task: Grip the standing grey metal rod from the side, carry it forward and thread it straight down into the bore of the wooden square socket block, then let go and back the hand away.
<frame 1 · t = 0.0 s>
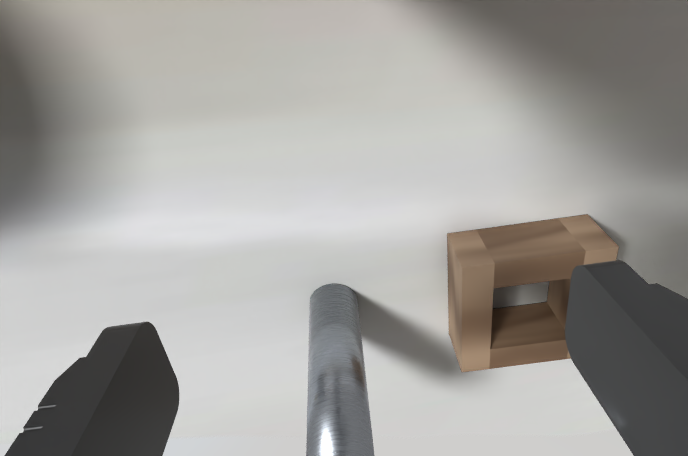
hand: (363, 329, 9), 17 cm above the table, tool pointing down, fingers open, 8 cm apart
wooden square socket block: (512, 278, 31), on the table
rod: (333, 302, 31), on the table
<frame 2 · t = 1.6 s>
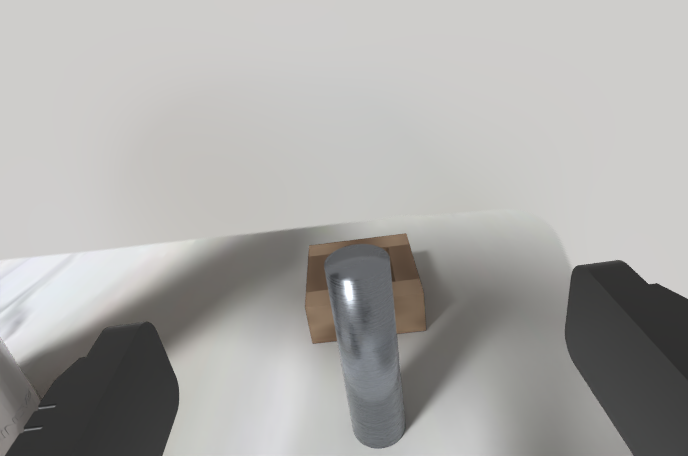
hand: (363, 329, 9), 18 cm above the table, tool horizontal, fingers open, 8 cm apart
wooden square socket block: (365, 301, 39), on the table
rod: (378, 424, 28), on the table
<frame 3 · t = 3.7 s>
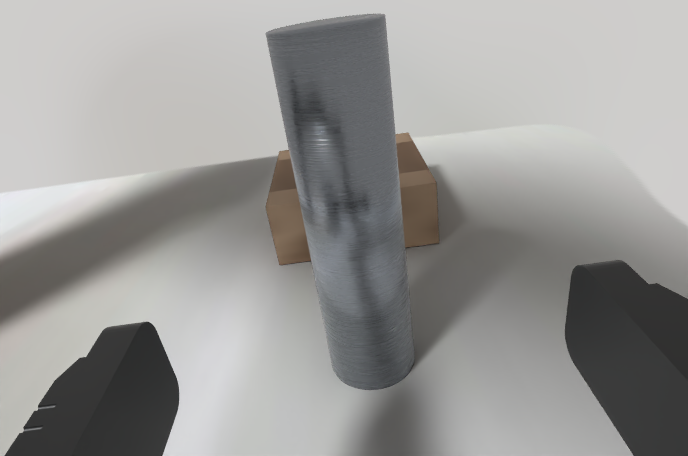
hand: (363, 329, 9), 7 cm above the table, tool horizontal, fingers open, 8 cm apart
wooden square socket block: (354, 217, 29), on the table
rod: (372, 357, 18), on the table
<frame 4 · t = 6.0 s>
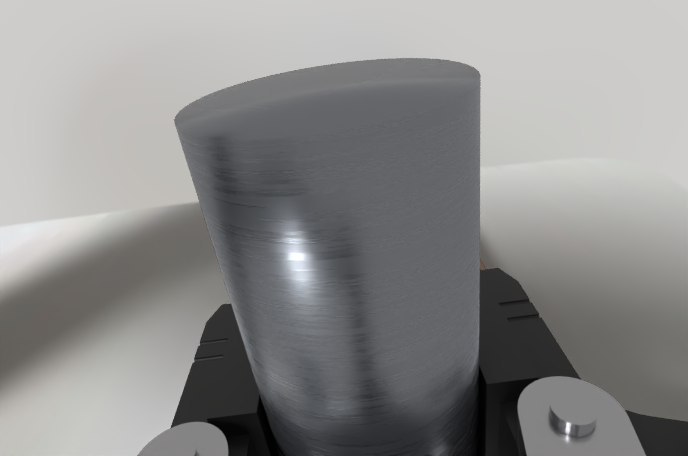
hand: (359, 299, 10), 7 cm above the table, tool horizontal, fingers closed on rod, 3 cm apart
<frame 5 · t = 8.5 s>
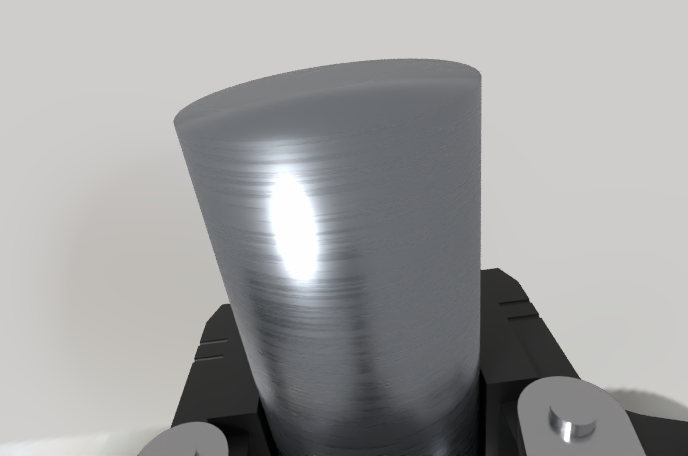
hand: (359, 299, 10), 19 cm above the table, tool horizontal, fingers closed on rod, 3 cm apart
when the fingers open (9 cm above the table, at t = 11.3 s): rod drops 2 cm, resting in wooden square socket block.
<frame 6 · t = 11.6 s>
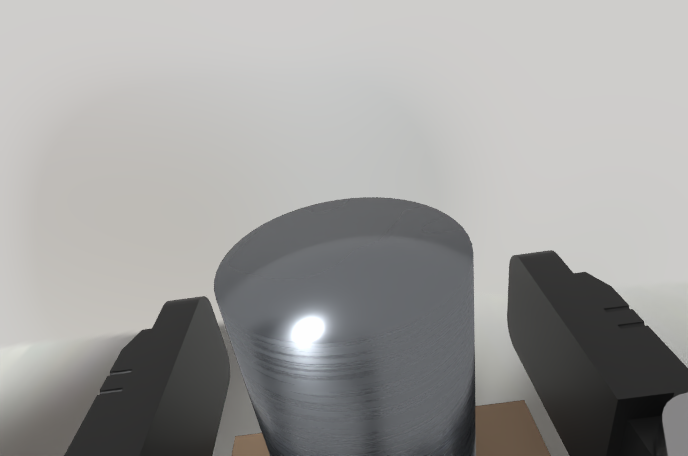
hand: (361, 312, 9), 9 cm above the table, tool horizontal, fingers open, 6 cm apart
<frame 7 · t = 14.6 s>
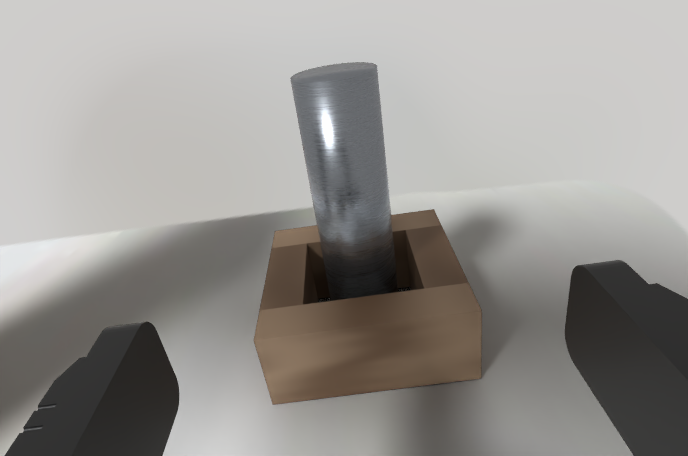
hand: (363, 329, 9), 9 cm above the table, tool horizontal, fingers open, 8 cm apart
wooden square socket block: (367, 323, 23), on the table
rod: (368, 324, 23), resting in wooden square socket block
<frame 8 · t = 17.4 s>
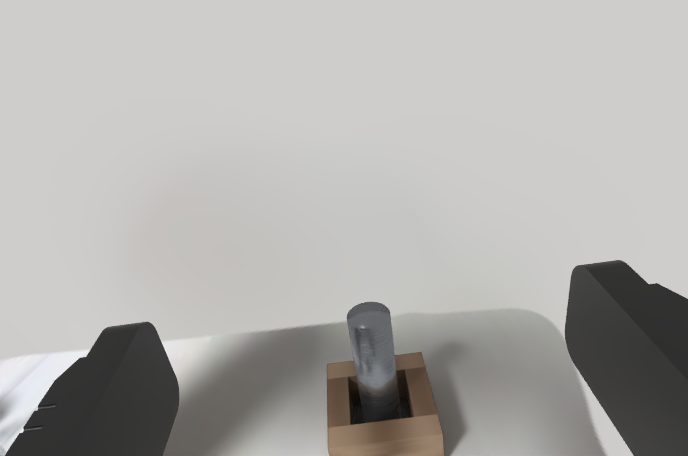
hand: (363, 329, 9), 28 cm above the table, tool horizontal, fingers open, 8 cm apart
wooden square socket block: (383, 424, 40), on the table
rod: (383, 424, 40), resting in wooden square socket block
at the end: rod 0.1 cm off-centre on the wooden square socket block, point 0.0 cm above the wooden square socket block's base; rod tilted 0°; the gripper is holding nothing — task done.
